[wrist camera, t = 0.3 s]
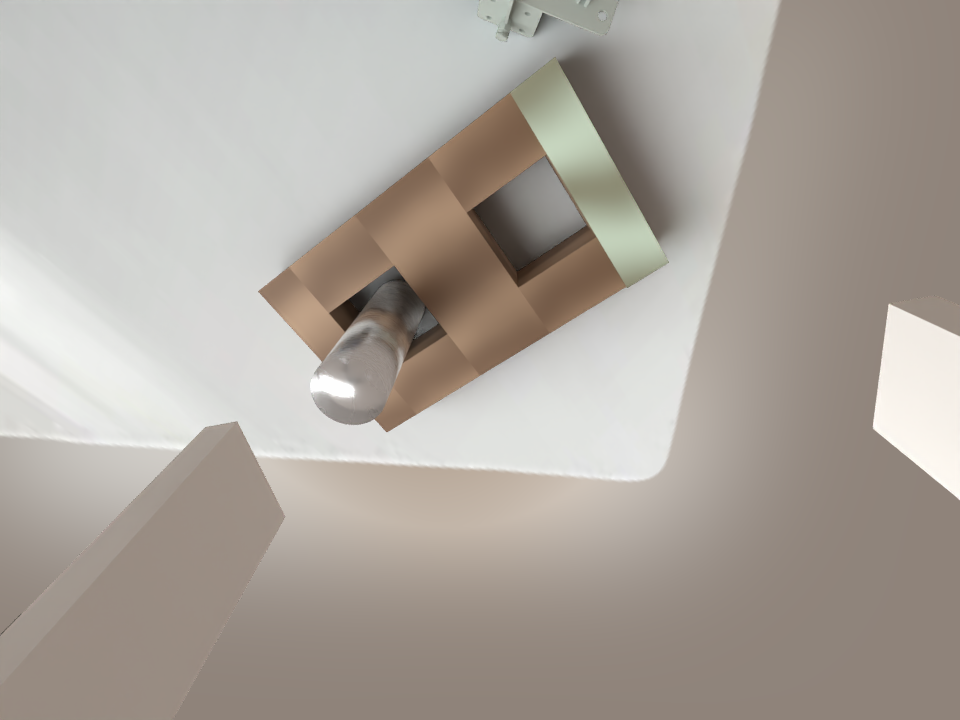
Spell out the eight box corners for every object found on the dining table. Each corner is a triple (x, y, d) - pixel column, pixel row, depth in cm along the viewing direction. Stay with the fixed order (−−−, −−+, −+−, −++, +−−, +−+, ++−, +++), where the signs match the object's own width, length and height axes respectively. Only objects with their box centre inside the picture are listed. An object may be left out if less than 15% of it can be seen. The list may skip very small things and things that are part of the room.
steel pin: (363, 298, 38) (294, 383, 26) (402, 270, 37) (351, 344, 25) (395, 337, 40) (345, 436, 27) (434, 311, 39) (402, 401, 26)
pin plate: (281, 275, 38) (256, 292, 34) (548, 65, 31) (555, 56, 27) (396, 406, 43) (386, 434, 39) (651, 247, 36) (669, 262, 32)
